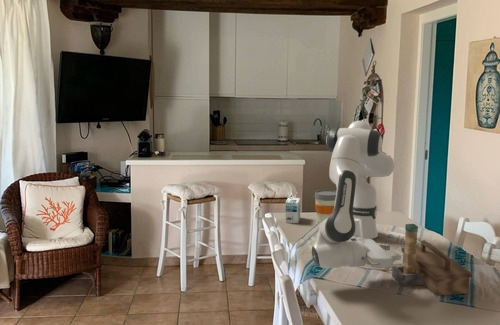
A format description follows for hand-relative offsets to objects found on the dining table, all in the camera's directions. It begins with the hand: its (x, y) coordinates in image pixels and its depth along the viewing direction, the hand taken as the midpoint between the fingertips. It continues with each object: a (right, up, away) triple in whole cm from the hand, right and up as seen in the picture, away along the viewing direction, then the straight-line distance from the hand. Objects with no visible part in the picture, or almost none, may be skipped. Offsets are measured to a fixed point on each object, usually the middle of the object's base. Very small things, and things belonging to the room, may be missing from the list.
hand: (394, 251), depth 179 cm
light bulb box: (-30, +2, +77) cm, 83 cm away
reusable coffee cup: (-13, +2, +76) cm, 77 cm away
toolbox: (+12, -11, +3) cm, 16 cm away
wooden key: (+6, -11, +3) cm, 13 cm away
